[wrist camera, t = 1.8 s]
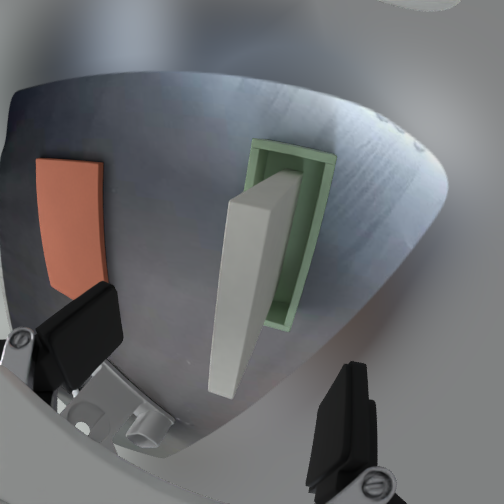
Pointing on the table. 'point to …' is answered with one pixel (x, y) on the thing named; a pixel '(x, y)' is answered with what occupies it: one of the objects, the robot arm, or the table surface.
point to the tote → (305, 219)
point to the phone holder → (117, 410)
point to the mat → (72, 223)
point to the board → (250, 273)
